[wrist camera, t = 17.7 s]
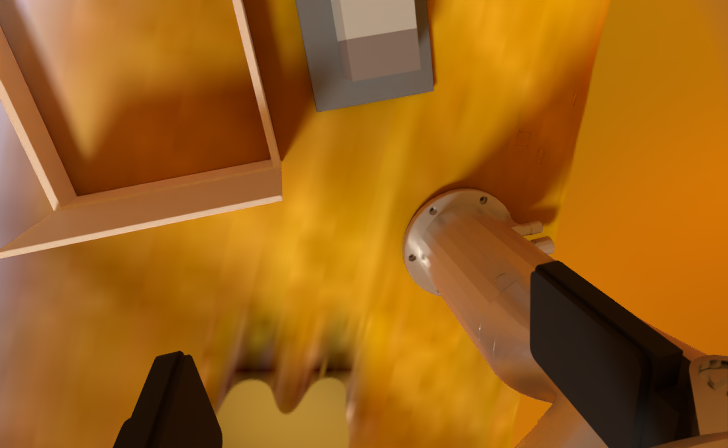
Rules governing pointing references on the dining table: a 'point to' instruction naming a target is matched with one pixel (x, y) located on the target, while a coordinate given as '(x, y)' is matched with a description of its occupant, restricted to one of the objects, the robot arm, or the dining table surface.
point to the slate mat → (327, 63)
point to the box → (376, 37)
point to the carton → (138, 202)
